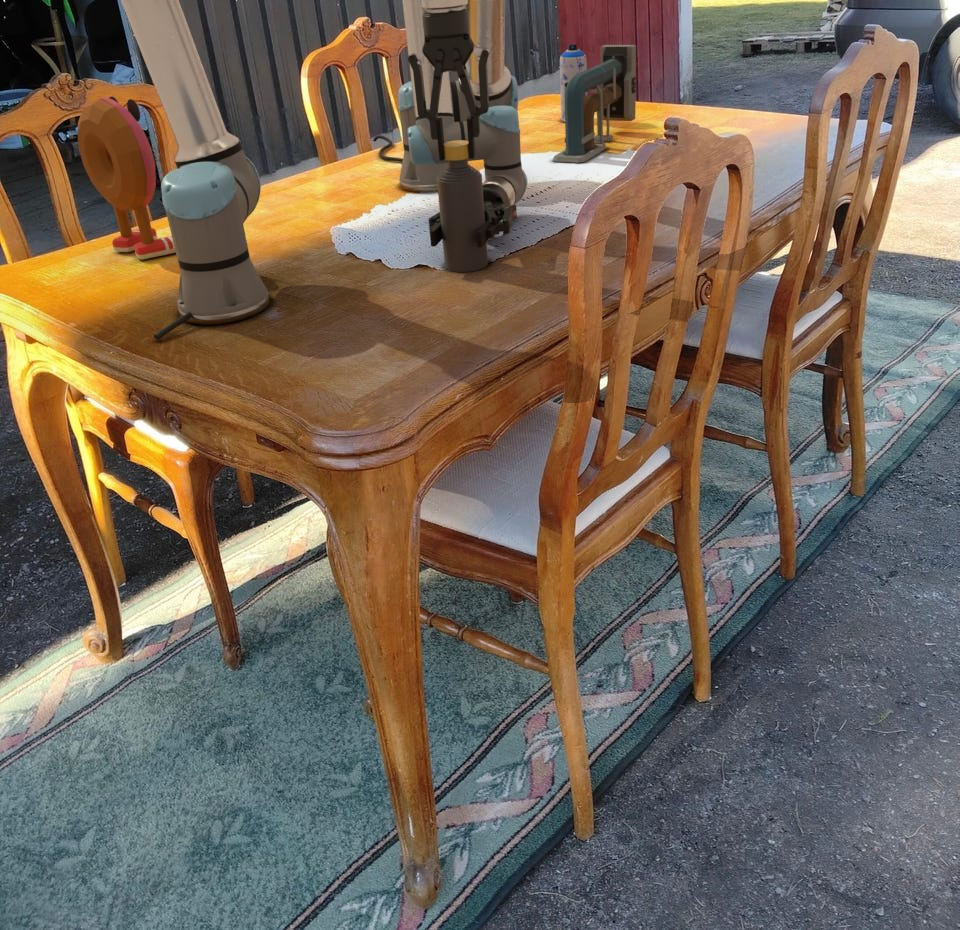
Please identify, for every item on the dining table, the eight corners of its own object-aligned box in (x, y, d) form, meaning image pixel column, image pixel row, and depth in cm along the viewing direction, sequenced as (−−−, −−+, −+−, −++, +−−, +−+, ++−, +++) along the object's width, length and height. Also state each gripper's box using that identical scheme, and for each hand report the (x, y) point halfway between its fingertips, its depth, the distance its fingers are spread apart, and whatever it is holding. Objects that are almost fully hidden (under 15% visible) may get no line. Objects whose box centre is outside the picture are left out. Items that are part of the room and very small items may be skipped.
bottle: (496, 261, 177) (488, 144, 166) (469, 274, 172) (459, 155, 161) (463, 255, 181) (454, 141, 171) (436, 267, 176) (424, 151, 166)
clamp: (583, 162, 234) (581, 68, 223) (550, 161, 238) (547, 68, 227) (635, 130, 260) (635, 44, 249) (604, 129, 263) (604, 45, 253)
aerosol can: (559, 122, 275) (557, 47, 265) (562, 117, 282) (559, 42, 272) (587, 121, 274) (585, 45, 263) (589, 115, 280) (587, 41, 270)
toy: (197, 251, 195) (161, 95, 180) (152, 266, 189) (111, 105, 174) (143, 235, 208) (105, 88, 193) (99, 248, 202) (57, 97, 187)
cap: (476, 156, 166) (475, 142, 165) (453, 162, 164) (452, 147, 163) (461, 152, 170) (460, 138, 168) (439, 157, 168) (437, 143, 166)
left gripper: (387, 16, 153) (404, 165, 165) (498, 7, 151) (507, 160, 163) (394, 10, 159) (410, 155, 171) (501, 2, 157) (509, 149, 169)
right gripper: (543, 222, 187) (513, 261, 169) (442, 220, 193) (402, 258, 174) (542, 183, 183) (511, 219, 165) (439, 182, 189) (397, 217, 171)
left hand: (457, 157), depth 167 cm, fingers closed on cap, 4 cm apart
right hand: (455, 239), depth 170 cm, fingers closed on bottle, 8 cm apart
